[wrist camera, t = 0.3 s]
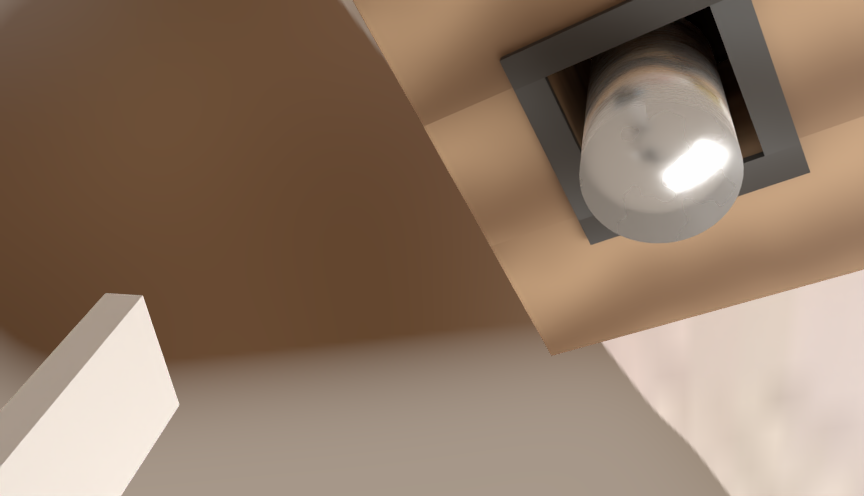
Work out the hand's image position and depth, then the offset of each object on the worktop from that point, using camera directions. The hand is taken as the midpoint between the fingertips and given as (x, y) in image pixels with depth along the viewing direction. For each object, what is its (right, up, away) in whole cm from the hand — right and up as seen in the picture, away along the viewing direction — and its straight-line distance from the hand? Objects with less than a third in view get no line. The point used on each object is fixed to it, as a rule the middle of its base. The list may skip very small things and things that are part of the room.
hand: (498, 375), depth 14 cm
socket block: (+9, +12, +23) cm, 27 cm away
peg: (+8, +9, +18) cm, 21 cm away
